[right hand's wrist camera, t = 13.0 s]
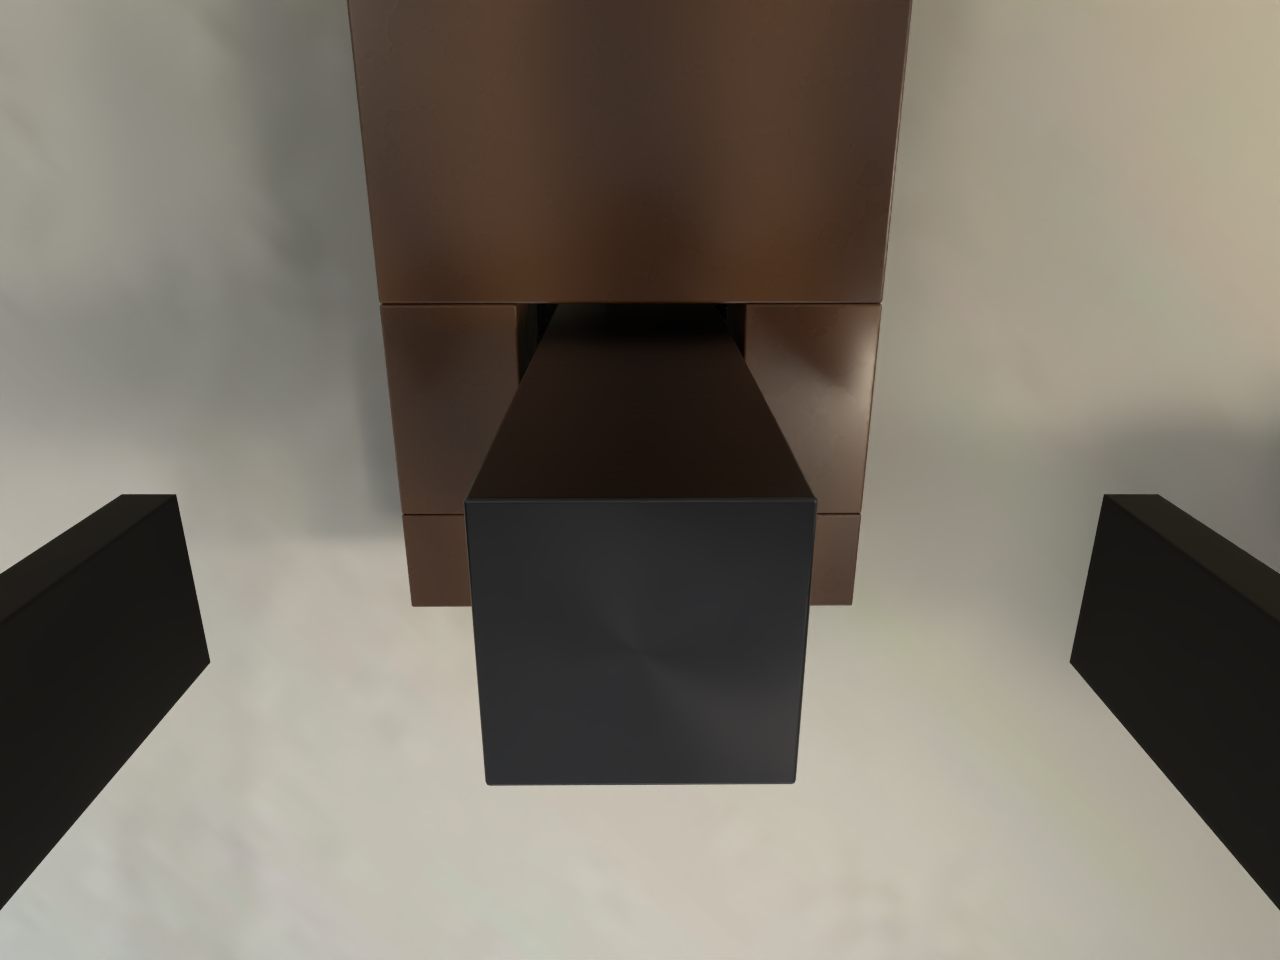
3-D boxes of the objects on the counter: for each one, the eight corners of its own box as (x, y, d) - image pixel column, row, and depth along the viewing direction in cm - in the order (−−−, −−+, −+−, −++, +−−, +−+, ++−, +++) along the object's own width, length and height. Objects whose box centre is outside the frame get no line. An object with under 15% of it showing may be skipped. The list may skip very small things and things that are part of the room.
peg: (712, 297, 23) (819, 497, 10) (708, 441, 24) (796, 786, 11) (560, 297, 23) (461, 498, 10) (565, 441, 24) (484, 787, 11)
